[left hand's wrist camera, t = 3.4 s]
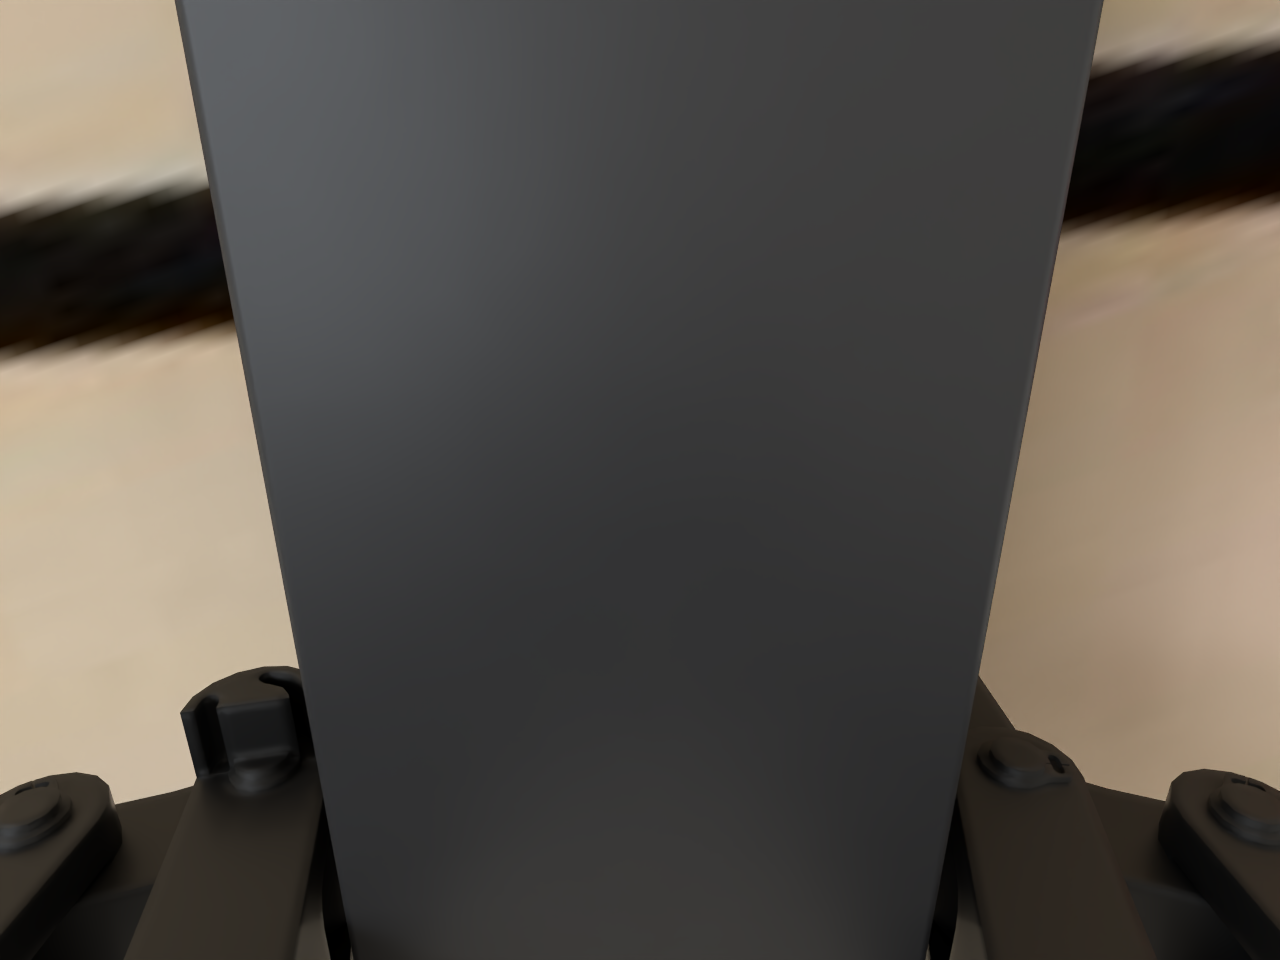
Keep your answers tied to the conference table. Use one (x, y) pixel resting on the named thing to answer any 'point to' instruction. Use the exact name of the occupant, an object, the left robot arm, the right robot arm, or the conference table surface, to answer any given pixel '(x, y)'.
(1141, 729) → the conference table surface
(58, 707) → the conference table surface
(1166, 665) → the conference table surface
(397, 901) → the bar
